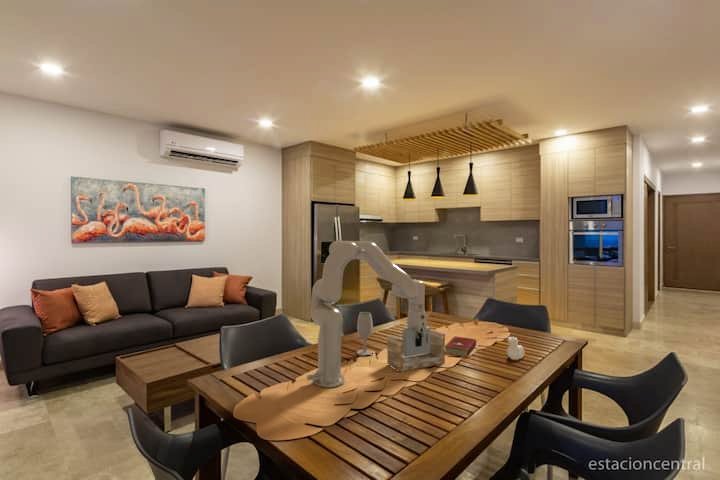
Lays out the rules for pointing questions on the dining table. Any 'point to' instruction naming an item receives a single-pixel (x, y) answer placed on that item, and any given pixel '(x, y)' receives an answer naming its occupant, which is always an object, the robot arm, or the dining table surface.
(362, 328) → the wineglass
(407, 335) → the door panel
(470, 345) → the hardcover book
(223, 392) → the dining table surface
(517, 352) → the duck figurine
